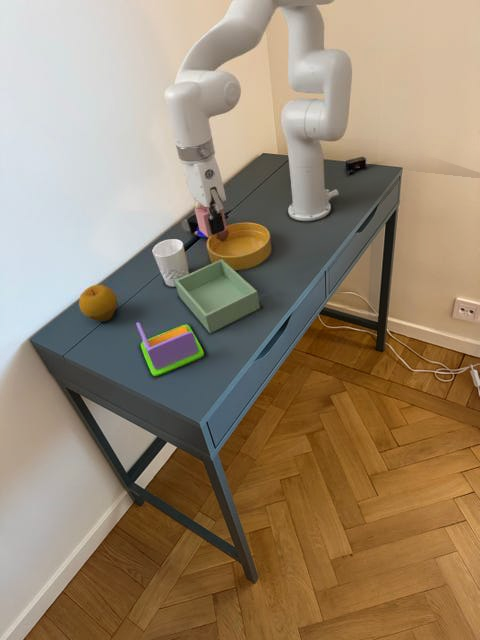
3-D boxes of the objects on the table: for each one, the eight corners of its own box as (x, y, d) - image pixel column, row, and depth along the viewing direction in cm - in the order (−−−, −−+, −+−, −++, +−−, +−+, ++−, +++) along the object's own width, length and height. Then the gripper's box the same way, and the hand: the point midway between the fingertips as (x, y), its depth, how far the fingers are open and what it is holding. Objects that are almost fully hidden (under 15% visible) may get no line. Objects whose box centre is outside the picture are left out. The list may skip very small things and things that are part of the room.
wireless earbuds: (342, 170, 154) (342, 161, 152) (363, 165, 155) (363, 156, 153) (348, 176, 151) (348, 166, 149) (368, 170, 151) (369, 161, 149)
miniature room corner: (153, 378, 96) (143, 355, 92) (139, 344, 105) (130, 322, 100) (206, 356, 98) (199, 333, 94) (188, 324, 107) (181, 302, 103)
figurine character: (185, 240, 139) (220, 248, 129) (176, 218, 134) (212, 223, 125) (200, 230, 142) (235, 236, 133) (192, 207, 138) (228, 212, 128)
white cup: (196, 271, 123) (188, 239, 117) (184, 289, 118) (175, 257, 111) (170, 269, 126) (160, 238, 119) (158, 287, 121) (146, 255, 114)
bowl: (251, 229, 135) (249, 215, 132) (284, 253, 123) (282, 239, 120) (199, 252, 130) (196, 238, 127) (228, 279, 118) (225, 265, 115)
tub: (225, 275, 120) (221, 259, 117) (260, 308, 108) (257, 291, 104) (179, 296, 116) (174, 280, 113) (210, 333, 104) (205, 316, 100)
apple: (87, 311, 118) (73, 284, 112) (121, 301, 118) (109, 273, 113) (88, 333, 111) (73, 305, 105) (124, 322, 112) (111, 293, 106)
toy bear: (218, 222, 109) (209, 182, 102) (227, 229, 105) (219, 189, 99) (198, 230, 107) (188, 191, 101) (206, 238, 104) (197, 197, 97)
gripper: (231, 154, 89) (245, 235, 101) (194, 134, 101) (211, 209, 113) (196, 167, 87) (215, 248, 99) (164, 145, 99) (183, 220, 111)
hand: (212, 227), depth 106 cm, fingers closed on toy bear, 4 cm apart
